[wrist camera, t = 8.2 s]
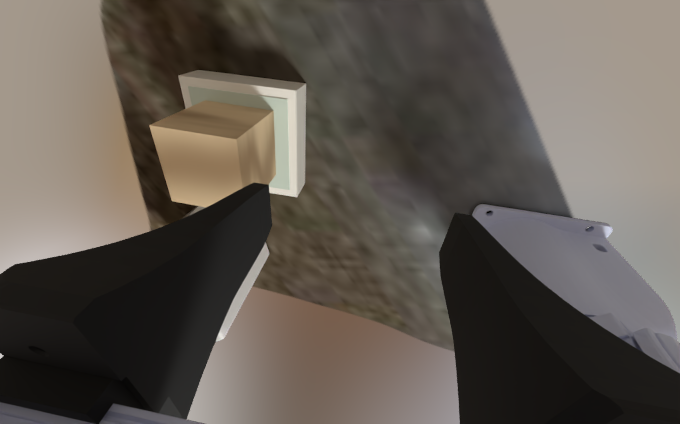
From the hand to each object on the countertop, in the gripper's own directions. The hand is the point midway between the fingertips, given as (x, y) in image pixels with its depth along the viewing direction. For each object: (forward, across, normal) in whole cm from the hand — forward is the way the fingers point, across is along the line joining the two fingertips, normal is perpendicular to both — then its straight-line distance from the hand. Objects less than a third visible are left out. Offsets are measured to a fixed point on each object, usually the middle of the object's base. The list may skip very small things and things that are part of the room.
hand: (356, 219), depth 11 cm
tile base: (+10, +8, +1) cm, 14 cm away
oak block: (+8, +8, +1) cm, 12 cm away
